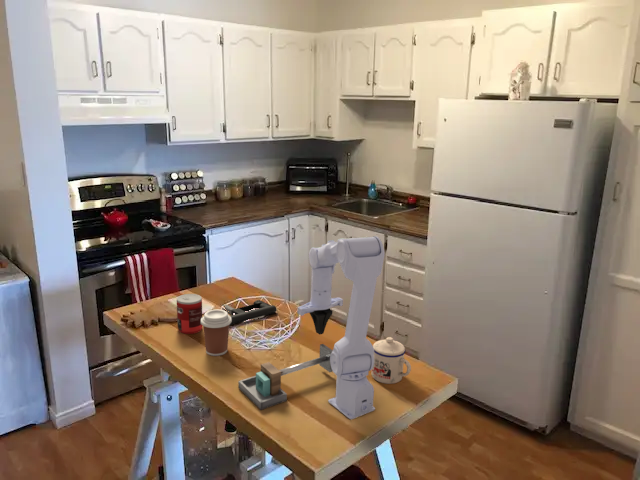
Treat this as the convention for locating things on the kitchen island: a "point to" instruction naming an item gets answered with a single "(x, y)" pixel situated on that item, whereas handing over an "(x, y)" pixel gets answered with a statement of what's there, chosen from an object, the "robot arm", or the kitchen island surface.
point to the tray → (256, 397)
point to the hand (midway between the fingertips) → (319, 332)
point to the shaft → (312, 362)
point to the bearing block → (272, 377)
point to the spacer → (263, 384)
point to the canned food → (189, 313)
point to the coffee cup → (216, 331)
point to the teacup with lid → (389, 361)
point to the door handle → (253, 314)
